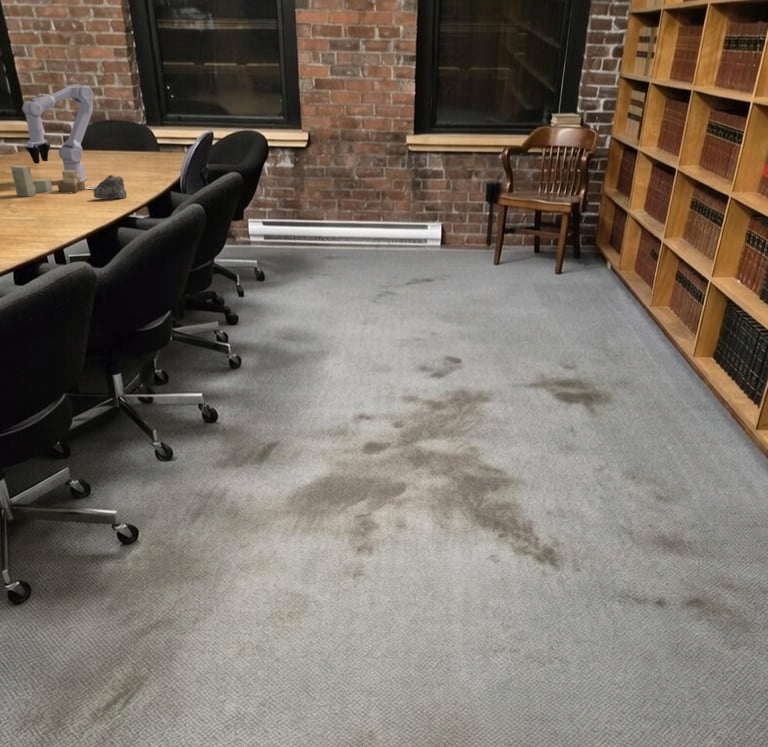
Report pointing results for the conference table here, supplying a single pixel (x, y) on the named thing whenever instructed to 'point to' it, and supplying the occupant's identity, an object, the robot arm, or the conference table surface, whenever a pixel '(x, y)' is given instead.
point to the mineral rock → (110, 188)
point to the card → (90, 187)
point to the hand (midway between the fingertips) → (40, 162)
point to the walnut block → (71, 187)
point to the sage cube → (43, 185)
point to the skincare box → (23, 180)
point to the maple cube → (70, 176)
